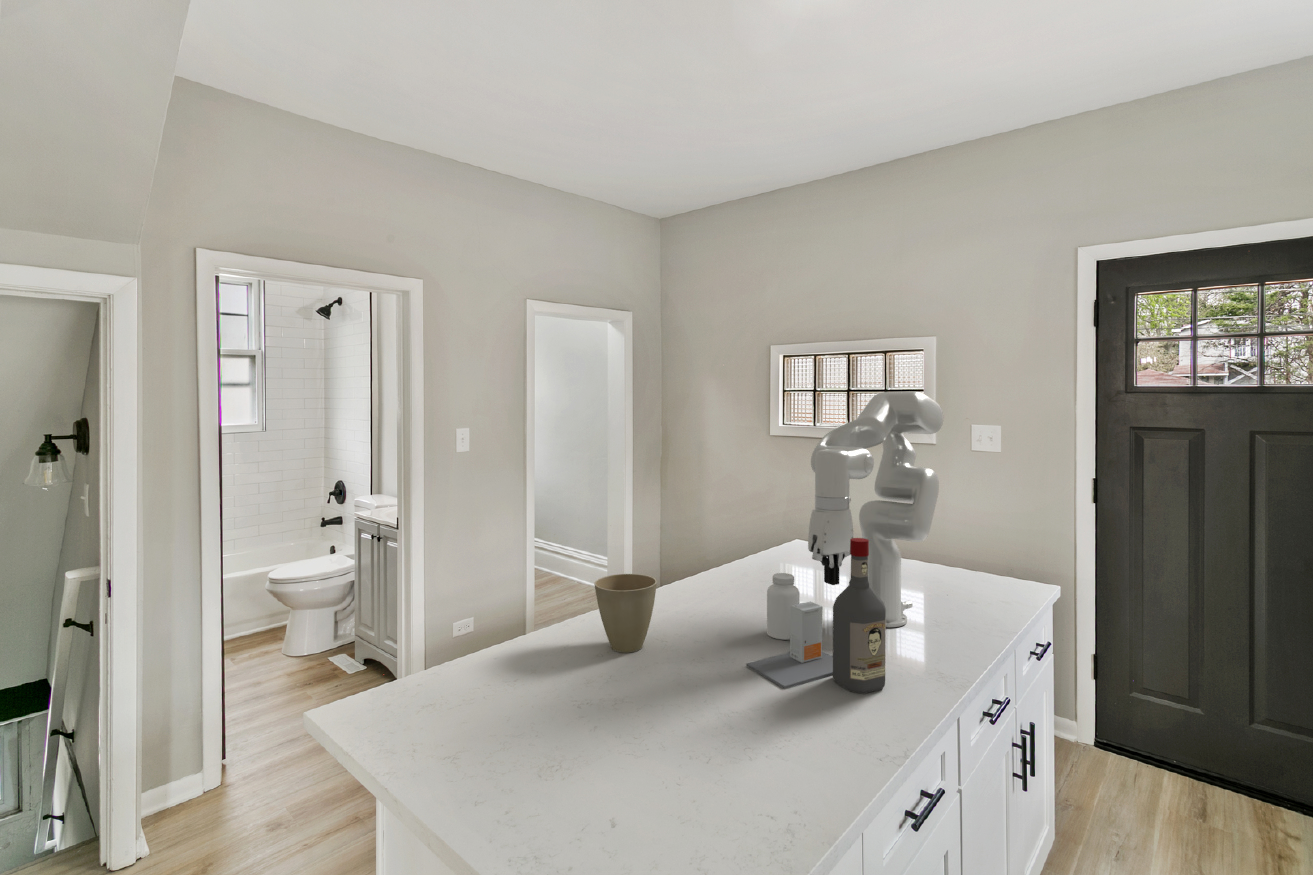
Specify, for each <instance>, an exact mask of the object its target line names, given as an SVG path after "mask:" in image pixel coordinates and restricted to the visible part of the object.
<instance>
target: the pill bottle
mask: <svg viewBox="0 0 1313 875" xmlns="http://www.w3.org/2000/svg"><path fill="white" fill-rule="evenodd" d="M797 604H800V591H799V588H798V587H797V586H795V576H794V575H793V574H790V573H787V572H778V573H777V572H776V573H774V574H772V584H771V585H769V586H768V588H767V591H766V634H767V635H768V636H769V637H771V638H773V639H777V640H782V641H783V640H785V641H786V640H788V641H789V640H790V613H791V606H792V605H797Z"/></svg>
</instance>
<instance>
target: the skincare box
mask: <svg viewBox="0 0 1313 875" xmlns="http://www.w3.org/2000/svg"><path fill="white" fill-rule="evenodd" d="M823 608H824V607H823V606H822V605H820V604H818V603H816V602H813V601H805V602H801V603H800V602H799V604H797V605H792V606H791V613H790V639H789V640H790V641H789V644H790V645H789V652H790V657H791V658H793V659H795V660H797V661H799V662H801V663H804V662H807V661H811V660H815V659H820V658H822V651H823Z"/></svg>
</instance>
